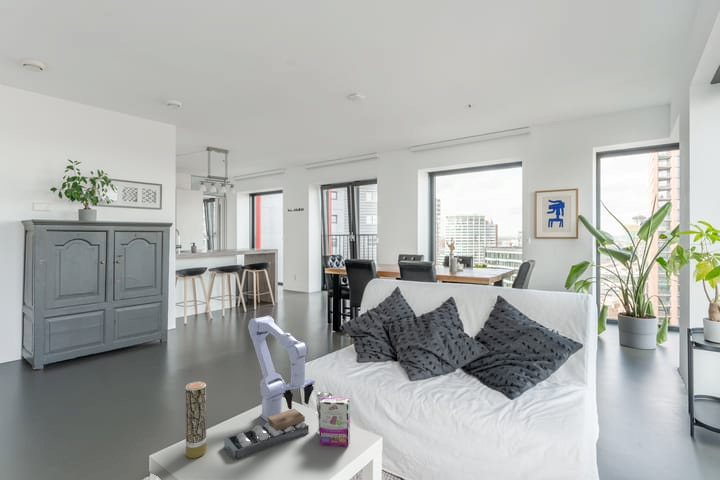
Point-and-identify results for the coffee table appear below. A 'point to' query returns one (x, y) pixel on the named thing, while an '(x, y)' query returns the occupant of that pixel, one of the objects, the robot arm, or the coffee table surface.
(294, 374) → the robot arm
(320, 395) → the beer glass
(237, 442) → the roller
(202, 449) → the paper tube
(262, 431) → the roller bed
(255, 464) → the coffee table surface
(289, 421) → the slab
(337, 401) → the candy bar box
